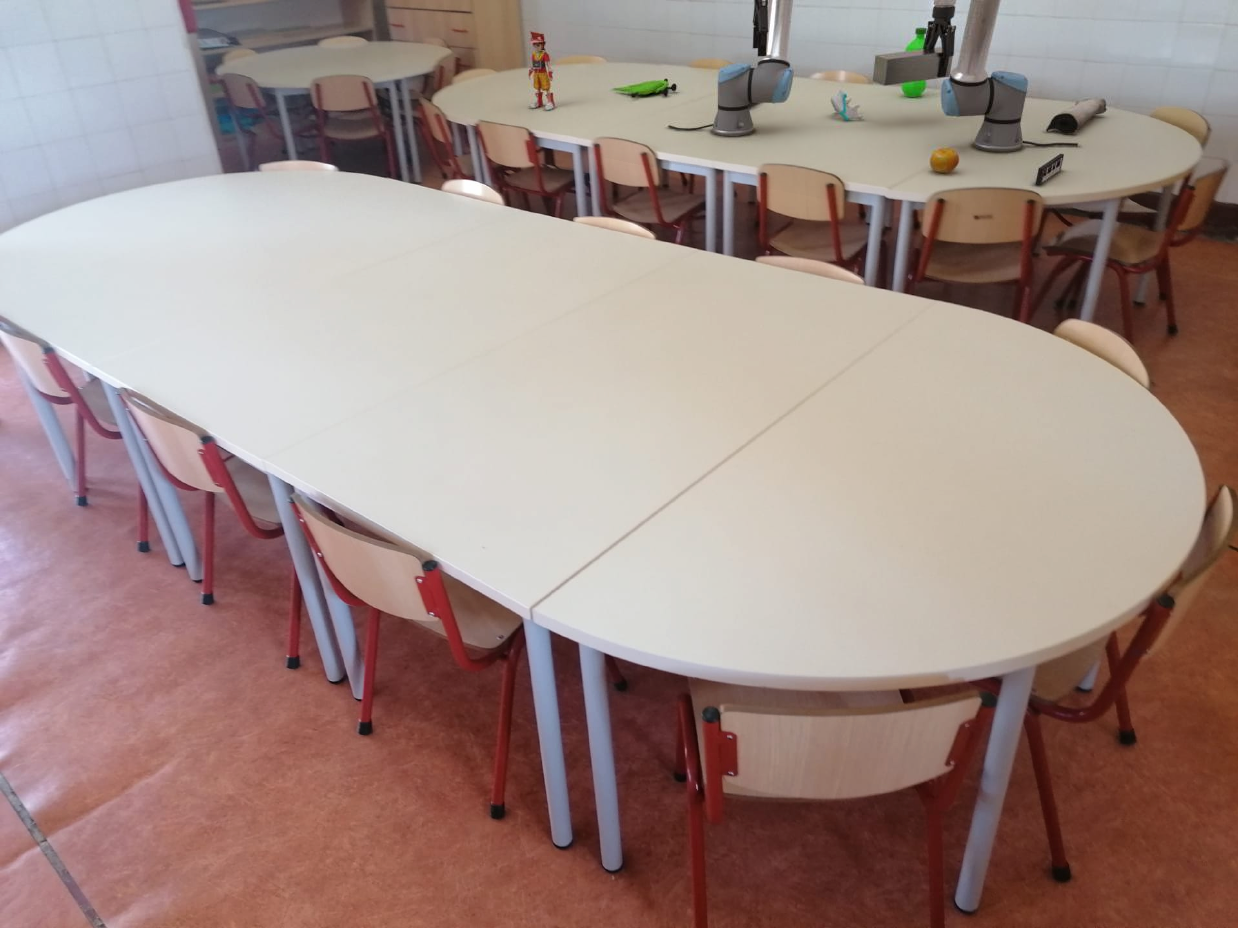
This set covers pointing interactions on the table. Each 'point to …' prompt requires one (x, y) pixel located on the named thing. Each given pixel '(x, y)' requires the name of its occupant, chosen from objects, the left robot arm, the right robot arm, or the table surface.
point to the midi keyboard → (1049, 169)
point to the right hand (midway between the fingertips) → (934, 74)
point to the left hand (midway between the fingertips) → (759, 52)
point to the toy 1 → (541, 71)
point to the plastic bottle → (918, 86)
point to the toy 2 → (648, 88)
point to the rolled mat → (1077, 115)
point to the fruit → (944, 160)
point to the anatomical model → (845, 107)
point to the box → (909, 66)
